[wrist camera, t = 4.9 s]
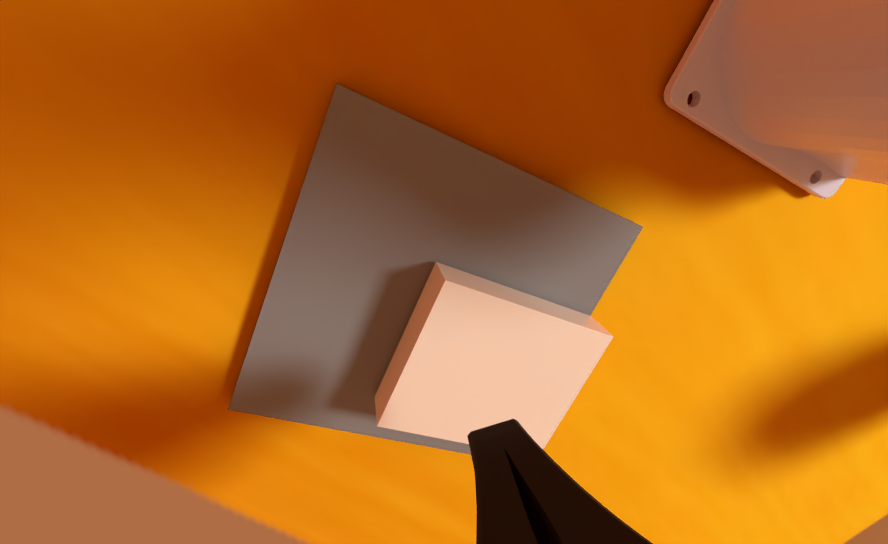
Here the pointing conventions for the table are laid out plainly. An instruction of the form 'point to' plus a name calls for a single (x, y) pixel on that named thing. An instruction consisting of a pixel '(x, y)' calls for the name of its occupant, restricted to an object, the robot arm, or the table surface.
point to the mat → (404, 259)
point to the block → (486, 360)
